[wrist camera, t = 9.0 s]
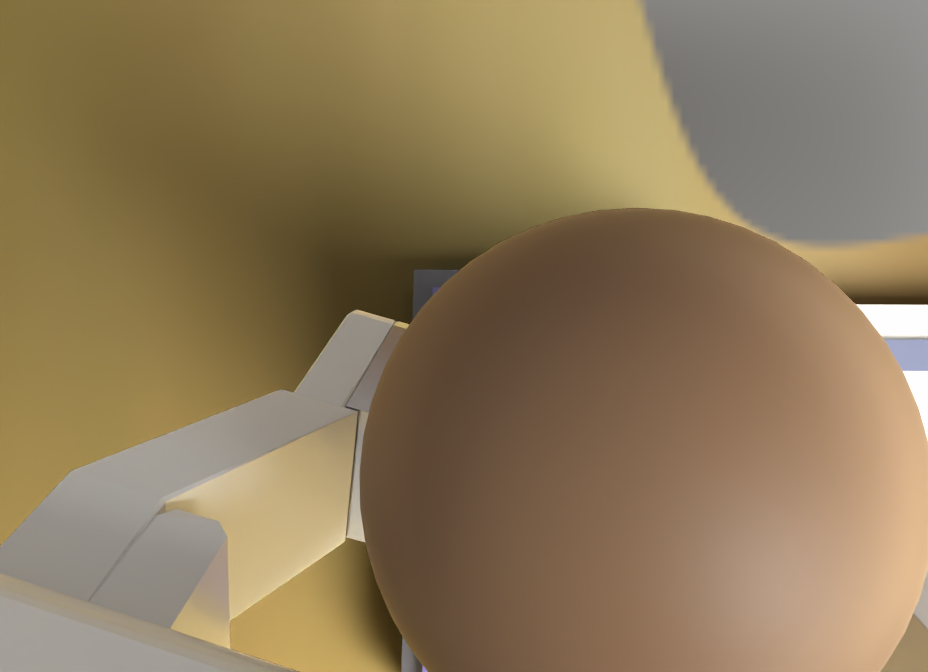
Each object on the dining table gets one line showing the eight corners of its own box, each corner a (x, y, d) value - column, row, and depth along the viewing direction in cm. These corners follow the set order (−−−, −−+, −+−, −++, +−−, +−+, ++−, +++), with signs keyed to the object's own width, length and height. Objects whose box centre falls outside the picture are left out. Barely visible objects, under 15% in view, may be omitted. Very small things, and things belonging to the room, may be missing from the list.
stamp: (686, 360, 15) (1134, 16, 4) (693, 616, 14) (1268, 1064, 3) (442, 357, 16) (232, 34, 4) (435, 608, 15) (161, 990, 4)
